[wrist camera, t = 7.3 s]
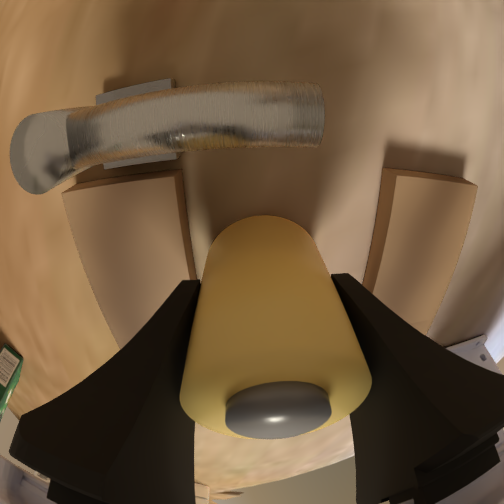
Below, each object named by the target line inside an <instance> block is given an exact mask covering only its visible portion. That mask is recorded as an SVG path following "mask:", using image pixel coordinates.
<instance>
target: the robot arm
mask: <svg viewBox="0 0 504 504" xmlns="http://www.w3.org/2000/svg"><path fill="white" fill-rule="evenodd" d="M331 279H332V281H333V283H334V285H335V288H336V290H337V292H338V294H339V297H340V299H341V301H342V304H343V306H344V308H345V311H346V313H347V315H348V318H349V320H350V323H351V325H352V327H353V330H354V332H355V335H356V337H357V340H358V342H359V345H360V347H361V350H362V352H363V355H364V358H365V360H366V363H367V365H368V368H369V371H370V374H371V377H372V385H371V389H370V391H369V393H368V395H367V397H366V398H365V400H364V401H363V402H362V403H361V404H360V405H359V407H357V408H356V409H355V410H354V411H353V412H351V413H350V420H351V427H352V434H353V442H354V451H355V464H356V502H357V504H379V503H382V502H385V501H388V500H389V502H390V504H504V431H503V427H504V375H502V373H501V372H500V370H499V368H498V366H497V365H496V363H495V361H494V360H493V358H492V357H491V355H490V353H489V352H488V350H487V349H486V347H485V346H484V343H485V342H486V340H487V336H486V335H482V336H480V337H477V338H474V339H471V340H468V341H466V342H463V343H460V344H457V345H453V346H450V347H447V348H444V347H442V346H441V345H439V344H437V343H436V342H434V341H433V340H431V339H430V338H428V337H427V336H425V335H424V334H422V333H421V332H419V331H418V330H417V329H415V328H414V327H412V326H411V325H410V324H409V323H407V322H406V321H405V320H403V319H402V318H401V317H399V316H398V315H397V314H396V313H394V312H393V311H392V310H391V309H390V308H388V307H387V306H386V305H385V304H384V303H382V302H381V301H380V300H379V299H378V298H377V297H375V296H374V295H373V294H372V293H371V292H370V291H369V290H367V289H366V288H365V287H364V286H363V285H362V284H360V283H359V282H358V281H357V280H356V279H355V278H353V277H352V276H351V275H350V274H348V273H343V274H331ZM200 286H201V283H200V280H182V281H181V282H180V283H179V284H178V286H177V287H176V288H175V289H174V290H173V292H172V293H171V294H170V295H169V297H168V298H167V299H166V300H165V302H164V303H163V304H162V305H161V306H160V308H159V309H158V310H157V311H156V312H155V313H154V315H153V316H152V317H151V318H150V319H149V320H148V322H147V323H146V324H145V325H144V326H143V327H142V328H141V329H140V330H139V331H138V332H137V333H136V335H135V336H134V337H133V338H132V339H131V340H130V341H129V342H128V343H127V344H126V345H125V346H124V347H123V348H122V349H121V350H120V351H119V352H117V353H116V354H115V355H114V356H113V357H112V358H111V359H110V360H108V361H107V362H106V363H105V364H104V365H102V366H101V367H100V368H99V369H97V370H96V371H95V372H93V373H92V374H91V375H89V376H88V377H87V378H86V379H84V380H83V381H82V382H80V383H79V384H77V385H76V386H74V387H73V388H71V389H70V390H68V391H67V392H65V393H63V394H62V395H60V396H58V397H57V398H55V399H53V400H52V401H50V402H48V403H46V404H44V405H42V406H40V407H38V408H36V409H34V410H32V411H30V412H28V413H26V414H23V415H22V416H21V418H20V421H19V424H18V426H17V429H16V431H15V434H14V437H13V440H12V443H11V446H10V449H9V453H10V455H11V456H12V457H14V458H15V459H17V460H18V461H20V462H22V463H23V464H25V465H27V466H28V467H30V468H31V469H33V470H35V471H37V472H38V473H40V474H42V475H44V476H46V477H48V478H50V483H47V482H45V481H43V480H42V479H40V478H38V477H36V476H34V475H33V474H31V473H29V472H28V471H26V470H24V469H22V468H21V467H19V466H16V465H15V464H13V463H12V462H10V461H9V460H7V459H6V458H5V457H3V456H2V455H0V504H196V500H195V483H194V432H195V421H194V420H193V419H191V418H190V417H189V416H188V415H187V414H186V413H185V411H184V410H183V408H182V406H181V403H180V390H181V384H182V378H183V372H184V367H185V361H186V356H187V350H188V345H189V340H190V335H191V330H192V325H193V320H194V315H195V310H196V305H197V300H198V296H199V291H200Z"/></svg>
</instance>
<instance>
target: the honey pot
mask: <svg viewBox="0 0 504 504" xmlns="http://www.w3.org/2000/svg"><path fill="white" fill-rule="evenodd" d="M195 500H196V504H209V501H207V500H209V487H208V486H205V485H202V484H197V483H195Z"/></svg>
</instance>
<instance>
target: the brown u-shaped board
mask: <svg viewBox="0 0 504 504" xmlns="http://www.w3.org/2000/svg"><path fill="white" fill-rule="evenodd" d="M477 188H478V186H477V185H475V184H473V183H471V182H469V181H467V180H466V179H464V178H459V177H453V176H447V175H441V174H434V173H426V172H419V171H410V170H401V169H391V168H383V170H382V179H381V188H380V195H379V202H378V209H377V215H376V222H375V227H374V233H373V238H372V244H371V249H370V254H369V258H368V263H367V268H366V272H365V276H364V281H363V286H364V287H365V288H366V289H367V290H369V291H370V292H371V293H372V294H373V295H374V296H375V297H377V298H378V299H379V300H380V301H381V302H382V303H384V304H385V305H386V306H387V307H388V308H390V309H391V310H392V311H393V312H394V313H396V314H397V315H398V316H399V317H401V318H402V319H403V320H405V321H406V322H407V323H409V324H410V325H411V326H412V327H414V328H415V329H417V330H418V331H419V332H421V333H422V334H424V335H426V333H427V332H428V330H429V328H430V326H431V324H432V322H433V319H434V317H435V315H436V313H437V311H438V309H439V307H440V304H441V302H442V300H443V298H444V295H445V293H446V290H447V288H448V286H449V283H450V281H451V278H452V275H453V273H454V270H455V267H456V265H457V262H458V259H459V256H460V253H461V250H462V247H463V244H464V240H465V237H466V234H467V230H468V226H469V223H470V219H471V215H472V211H473V207H474V202H475V198H476V193H477ZM61 194H62V198H63V202H64V206H65V210H66V214H67V217H68V221H69V224H70V228H71V231H72V235H73V238H74V241H75V244H76V247H77V250H78V253H79V256H80V259H81V262H82V264H83V267H84V270H85V273H86V275H87V278H88V280H89V283H90V285H91V288H92V290H93V293H94V295H95V298H96V300H97V302H98V304H99V307H100V309H101V311H102V313H103V316H104V318H105V320H106V322H107V324H108V326H109V328H110V330H111V332H112V334H113V336H114V338H115V340H116V342H117V344H118V346H119V348H120V350H121V349H122V348H123V347H124V346H125V345H126V344H127V343H128V342H129V341H130V340H131V339H132V338H133V337H134V336H135V335H136V333H137V332H138V331H139V330H140V329H141V328H142V327H143V326H144V325H145V324H146V323H147V322H148V320H149V319H150V318H151V317H152V316H153V315H154V313H155V312H156V311H157V310H158V309H159V308H160V306H161V305H162V304H163V303H164V302H165V300H166V299H167V298H168V297H169V295H170V294H171V293H172V292H173V290H174V289H175V288H176V287H177V286H178V284H179V283H180V282H181V281H182V280H197V277H196V271H195V265H194V259H193V252H192V246H191V239H190V232H189V225H188V218H187V211H186V203H185V195H184V186H183V178H182V169H175V170H166V171H157V172H149V173H141V174H134V175H127V176H120V177H113V178H107V179H101V180H96V181H90V182H85V183H80V184H76V185H74V186H72V187H71V188H69V189H67V190H66V191H64V192H63V193H61Z"/></svg>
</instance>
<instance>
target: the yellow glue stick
mask: <svg viewBox="0 0 504 504" xmlns="http://www.w3.org/2000/svg"><path fill="white" fill-rule="evenodd" d="M371 385H372V377H371V374H370V371H369V368H368V365H367V363H366V360H365V358H364V355H363V352H362V350H361V347H360V345H359V342H358V340H357V337H356V335H355V332H354V330H353V327H352V325H351V323H350V320H349V318H348V315H347V313H346V311H345V308H344V306H343V304H342V301H341V299H340V297H339V294H338V292H337V290H336V288H335V285H334V283H333V281H332V279H331V277H330V274H329V272H328V270H327V268H326V266H325V263H324V261H323V259H322V257H321V255H320V253H319V251H318V249H317V246H316V244H315V242H314V241H313V239H312V237H311V236H310V235H309V234H308V233H307V231H306V230H304V229H303V228H302V227H301V226H299V225H298V224H296V223H294V222H292V221H290V220H288V219H285V218H282V217H278V216H271V215H260V216H252V217H248V218H244V219H242V220H239V221H237V222H235V223H233V224H231V225H230V226H228V227H227V228H225V229H224V230H223V231H222V232H221V233H220V234H219V235H218V236H217V237H216V238H215V240H214V241H213V243H212V245H211V247H210V249H209V252H208V255H207V259H206V264H205V268H204V273H203V277H202V282H201V286H200V291H199V296H198V300H197V305H196V310H195V315H194V320H193V325H192V330H191V335H190V340H189V345H188V350H187V356H186V361H185V367H184V372H183V378H182V384H181V390H180V403H181V406H182V408H183V410H184V411H185V413H186V414H187V415H188V416H189V417H190V418H191V419H193V420H194V421H195V422H197V423H198V424H200V425H201V426H203V427H205V428H207V429H210V430H212V431H215V432H218V433H221V434H224V435H228V436H233V437H239V438H247V439H282V438H289V437H294V436H298V435H303V434H307V433H310V432H314V431H316V430H319V429H322V428H325V427H327V426H329V425H331V424H333V423H335V422H337V421H339V420H341V419H343V418H344V417H346V416H347V415H349V414H350V413H351V412H353V411H354V410H355V409H356V408H357V407H359V405H360V404H361V403H362V402H363V401H364V400H365V398H366V397H367V395H368V393H369V391H370V389H371Z"/></svg>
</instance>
